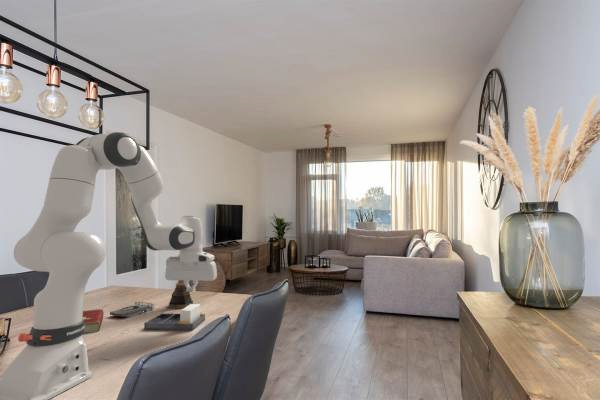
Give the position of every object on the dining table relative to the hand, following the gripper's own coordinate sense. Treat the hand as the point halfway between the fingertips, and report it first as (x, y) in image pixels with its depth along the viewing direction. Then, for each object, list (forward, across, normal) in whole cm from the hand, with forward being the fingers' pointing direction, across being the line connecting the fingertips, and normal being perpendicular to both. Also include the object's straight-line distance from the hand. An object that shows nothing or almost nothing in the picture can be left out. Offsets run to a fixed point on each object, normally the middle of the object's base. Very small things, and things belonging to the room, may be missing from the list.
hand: (191, 291), depth 139 cm
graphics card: (+14, -34, +15) cm, 40 cm away
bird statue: (+13, -15, +31) cm, 37 cm away
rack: (+13, -6, 0) cm, 14 cm away
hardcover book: (+14, -42, -3) cm, 45 cm away
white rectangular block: (+12, 0, 0) cm, 12 cm away
